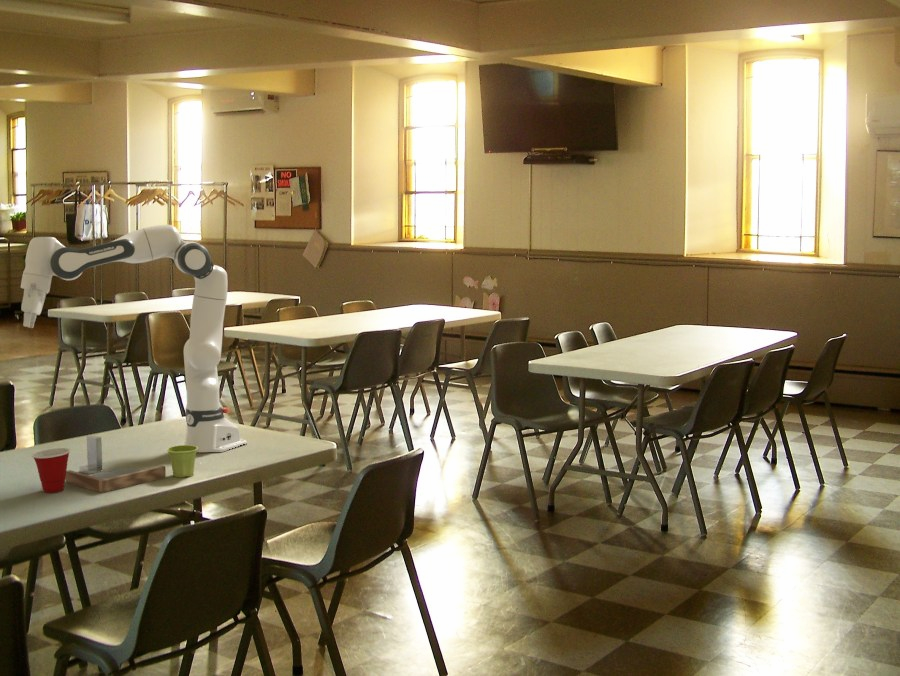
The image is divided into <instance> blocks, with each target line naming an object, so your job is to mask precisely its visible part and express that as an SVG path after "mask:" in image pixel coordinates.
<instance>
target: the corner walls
mask: <svg viewBox="0 0 900 676" xmlns="http://www.w3.org/2000/svg"><path fill="white" fill-rule="evenodd" d="M140 470H141V469H140ZM166 471H167V469H166V466H164V465H159V466H155V467H151V468H147V469H142V470H141V471H137V472H133V473H128V474H124V475H120V476H115V477H111V478H107V479H100V478H97V477H93V475H90V474H87V473H83V472H77V471H74V470H70V469H68V470H67V471H66V479H65V483H67V482H69V483H68V484H70V483H72V484H71V485H74V484H75V485H74V486H77V485H79V486H78V487H81V486H82V487H81V488H84V487H86V488H85V489H88V488H89V489H88V490H91V489H92V490H91V491H95V490H96V491H95V492H98V491H99V493H101V492H104V493H107V492H111V491H110V490H112V491H115V490H114V489H116V490H119V489H118V488H120V489H123V488H122V487H124V488H127V486H128V487H131V486H137V485H140V484H143V483H149V482H152V481H157V480H159V479H164V478H167V477H166V475H167V474H166V473H167V472H166ZM106 491H107V492H106Z"/></svg>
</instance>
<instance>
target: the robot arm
mask: <svg viewBox="0 0 900 676" xmlns="http://www.w3.org/2000/svg"><path fill="white" fill-rule="evenodd" d="M163 258H169V259H170V260H171V262H172V263H173V265H174V266H175V268H177V269H178V270H179V271H180V272H181V273H183V274H186V275H189V276H192V277H193V280H194V282H195V283H194V286H195V287H194V293H193V297H192V304H191V306H192V307H191V312H190V313H191V314H190V324H189V326H190V329H189V338H188V339H187V340H186V342H185V344H184V345H183V362H184V375H185V383H186V385H185V387H186V408H185V420H186V433H185V439H184V440H185V441H184V444H183V445H193V446H197V447H198V450H197V452H196V453H223V452H226V451H230V450H232V448H233V449H235V447H236V448H239V447H241V446H240V445H242V446H244V445H243V444H245V445H247V444H248V442H247V440H246V439H244V438H241V434H240V430H239V427H238V426H237V425H236V424H234V423H233V422H231V420H229V419H228V418H226V417H225V415H224V414H226V415H227V414H229V413H230V410H231V409H230V408H229V407H223V408H222V407H221V406H220V405H221V403H220V382H219V375H218V374H219V373H218V365H219V364H220V362H221V356H222V350H223V349H222V347H223V336H224V335H223V333H224V332H223V331H224V330H223V329H224V320H225V311H226V304H227V298H228V284H229V282H228V273H227V271H226V270H225V269H224V268H223V267H222V266H219V265H216V264H214V262H213V260H212V257H211V255H210V252H209V251H208V249H207V248H206V246H204V245H202V244H201V243H198V242H196V241H189V240H188V241H187V240H184V239H183V238H182V236H181V233H180V232H179V230H178V228H176V227H175V225H173V224H162V225H159V224H158V225H153V226H147V227H142V228H140V229H137V230H133V231H131V232H128V233H126V234H125V235H124V234H123V236H120V237H119V238H116V239H115V240H111V241H110V242H106V243H102V244H98V245H93V246H89V247H85V248H83V247H82V248H78V247H76V248H75V247H72V246H70V247H69V246H65V245H64V244H63V243H61V242H60V241H59V240H57V238H56V237H54V236H49V235H39V236H38V235H37V236H35V237H32V239H31V240H30V241H29V244H28V246H27V250H26V256H25V261H24V262H25V267H24V270H23V273H22V277H21V281H20V282H21V283H20V288H21V289H22V290H23V289H24V290H23V296H22V301H21V306H20V307H21V308H20V309H21V311H22V312H24V313H23V324H22V325H23V327H25V328H26V327H27V328H29V329H33V328H34V326H35V322H36V319H37V316H40V315H41V313H42V310H43V307H44V303H45V300H46V296H47V295H48V293H50V291H51V290H50V289H51V284H52V278H53V276H55V277H58V278H59V279H61V280H65V281H73V280H76V279H78V278H80V277H81V275H82V274H83V272H85V271H87V269H89V268H93V267H97V266H101V265H104V264H110V263H115V262H122V263H123V262H124V263H127V264H140V263H141V264H142V263H143V264H144V263H148V262H152V261H155V260H159V259H163ZM246 443H247V444H246ZM238 446H239V447H238ZM229 449H230V450H229Z"/></svg>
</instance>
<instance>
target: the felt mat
mask: <svg viewBox="0 0 900 676" xmlns="http://www.w3.org/2000/svg"><path fill="white" fill-rule="evenodd" d="M137 471H141V469H136V468H133V467H129V466H128V467H124V468H120V469H115V470H111V471H106V472H101V473H99V474H95V475H92V476H93V477H97V478H100V479H107V478H111V477H115V476H120V475H124V474H128V473H133V472H137Z"/></svg>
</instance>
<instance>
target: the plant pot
mask: <svg viewBox="0 0 900 676" xmlns="http://www.w3.org/2000/svg"><path fill="white" fill-rule="evenodd" d="M197 450H198V447H197V446H193V445H184V444H181V445H174V446H169V447H167V449H166V451H167V452H168V456H169V459H170V463H171V464H170V465H171V470H172V474H173V476H174V477H175V478H182V479H183V478H185V477H192V476H193V475H194V474H195V473H194V472H195V463H196V455H197V453H198V452H197Z"/></svg>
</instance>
